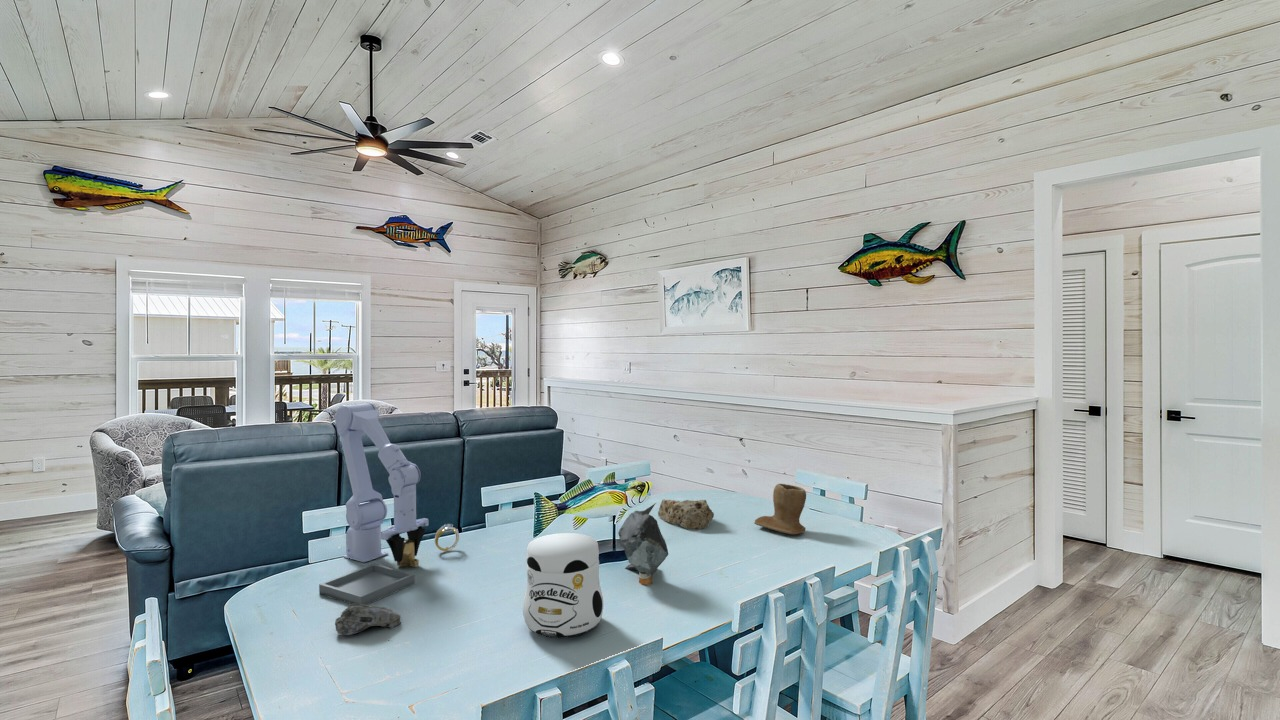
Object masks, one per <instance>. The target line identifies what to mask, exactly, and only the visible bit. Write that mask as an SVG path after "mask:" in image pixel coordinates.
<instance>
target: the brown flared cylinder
mask: <svg viewBox="0 0 1280 720" xmlns="http://www.w3.org/2000/svg"><path fill="white" fill-rule="evenodd" d="M772 499H773V500H772V501H773V507H774V514H773V515H772V516H771V515H770V516H769V515H763V516H758V518H756V519H755V520H754V522H753V524H755V525H757V526H759V527H762V528H765V529H769V530H771V531H774V532H775V531H776V532H779V533H783V534H787V535H800V534H803V533H805V531H806V527H805V526H804V525H802V523H801V522H800V518H801V515H802V512H803V510H804V507H805V505H806V504H805V503H806V501H807V500H806V499H807V492H806V490H805V489H804V488H802V487H800V486H796V485H791V484H786V483H777V484H776V485H775V486H774V489H773V494H772Z"/></svg>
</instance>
